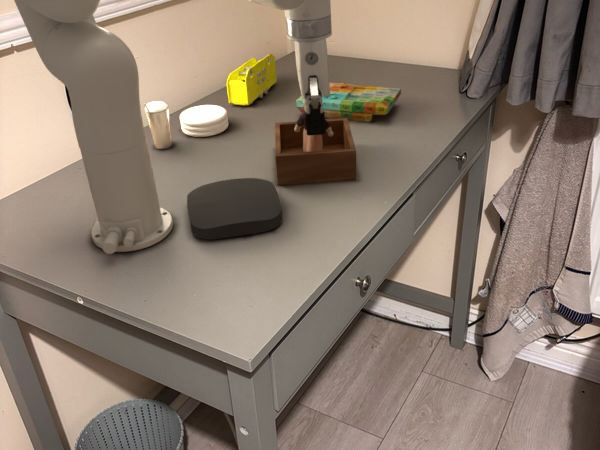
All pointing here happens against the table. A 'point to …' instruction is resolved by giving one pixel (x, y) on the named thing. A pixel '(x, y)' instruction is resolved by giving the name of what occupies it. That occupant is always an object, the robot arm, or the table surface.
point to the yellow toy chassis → (251, 80)
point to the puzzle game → (356, 101)
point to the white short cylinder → (204, 120)
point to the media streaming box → (234, 208)
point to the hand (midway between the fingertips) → (314, 123)
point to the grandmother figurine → (311, 141)
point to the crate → (314, 155)
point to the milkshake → (159, 123)
